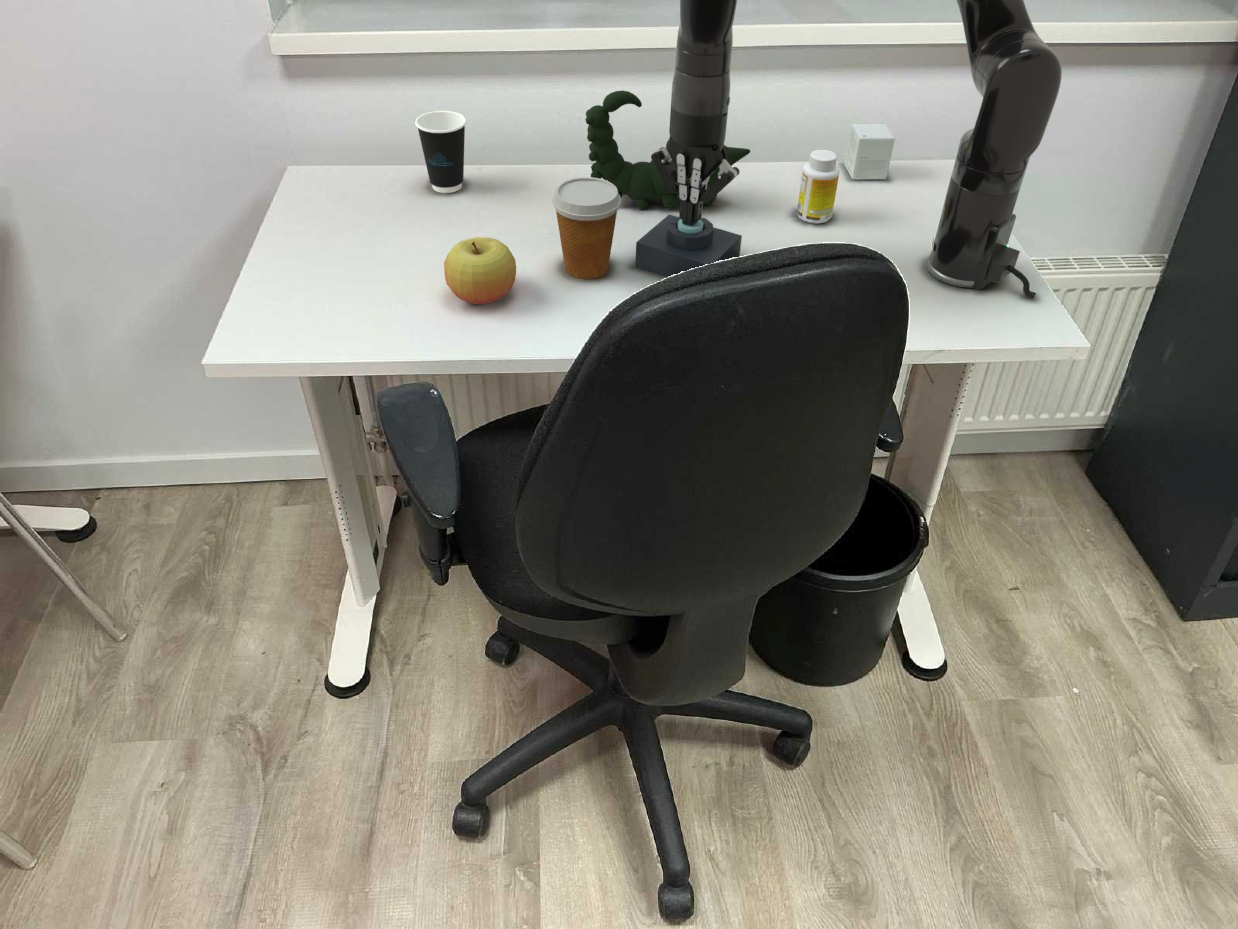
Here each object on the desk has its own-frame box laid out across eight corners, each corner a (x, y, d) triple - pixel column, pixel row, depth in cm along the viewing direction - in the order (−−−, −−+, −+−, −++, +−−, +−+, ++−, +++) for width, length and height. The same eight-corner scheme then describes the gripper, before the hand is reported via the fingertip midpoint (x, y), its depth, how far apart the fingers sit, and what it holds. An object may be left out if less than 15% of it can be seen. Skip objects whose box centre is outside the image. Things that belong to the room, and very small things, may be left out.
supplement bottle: (838, 218, 157) (850, 156, 150) (814, 228, 154) (825, 166, 147) (812, 204, 160) (822, 143, 153) (788, 214, 157) (797, 153, 150)
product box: (887, 180, 167) (896, 138, 162) (851, 180, 167) (859, 138, 162) (878, 164, 172) (886, 122, 167) (843, 164, 171) (851, 122, 167)
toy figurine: (593, 224, 157) (752, 214, 156) (582, 106, 144) (754, 94, 143) (594, 196, 164) (746, 186, 163) (584, 81, 151) (748, 70, 150)
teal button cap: (706, 233, 143) (707, 220, 142) (695, 244, 141) (696, 231, 139) (684, 227, 144) (685, 214, 143) (672, 237, 142) (673, 224, 141)
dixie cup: (432, 201, 158) (425, 134, 151) (415, 180, 163) (407, 115, 156) (479, 191, 161) (474, 125, 154) (461, 171, 166) (455, 106, 159)
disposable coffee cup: (561, 289, 139) (560, 210, 131) (547, 255, 146) (545, 179, 138) (627, 280, 141) (629, 203, 133) (609, 248, 148) (611, 172, 140)
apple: (448, 276, 141) (442, 225, 136) (516, 274, 142) (514, 223, 137) (445, 315, 134) (439, 262, 128) (518, 312, 135) (515, 260, 129)
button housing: (739, 259, 146) (743, 222, 142) (709, 290, 140) (712, 252, 136) (667, 238, 151) (669, 201, 147) (635, 266, 144) (636, 229, 140)
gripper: (641, 100, 129) (636, 221, 141) (733, 123, 125) (720, 246, 136) (668, 82, 134) (661, 200, 146) (758, 103, 130) (743, 224, 141)
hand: (690, 222), depth 141 cm, fingers closed
